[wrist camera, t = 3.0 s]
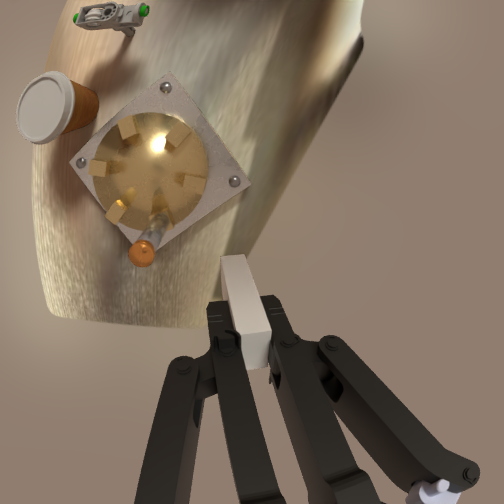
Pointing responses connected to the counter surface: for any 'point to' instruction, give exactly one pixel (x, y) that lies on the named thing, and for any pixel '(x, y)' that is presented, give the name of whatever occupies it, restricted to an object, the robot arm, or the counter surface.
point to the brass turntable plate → (149, 177)
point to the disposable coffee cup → (54, 107)
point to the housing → (183, 107)
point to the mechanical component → (112, 17)
